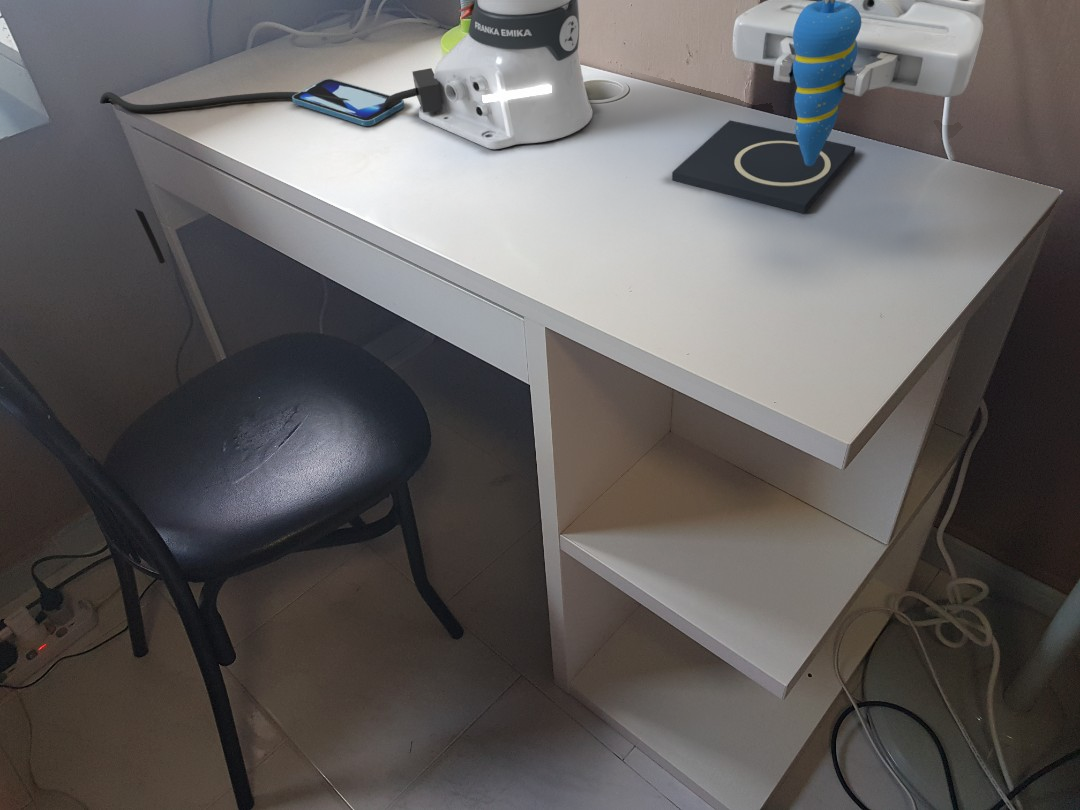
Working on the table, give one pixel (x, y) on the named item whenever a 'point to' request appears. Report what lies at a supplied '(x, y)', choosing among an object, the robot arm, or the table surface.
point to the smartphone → (346, 102)
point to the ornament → (822, 69)
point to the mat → (762, 166)
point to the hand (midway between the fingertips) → (816, 79)
